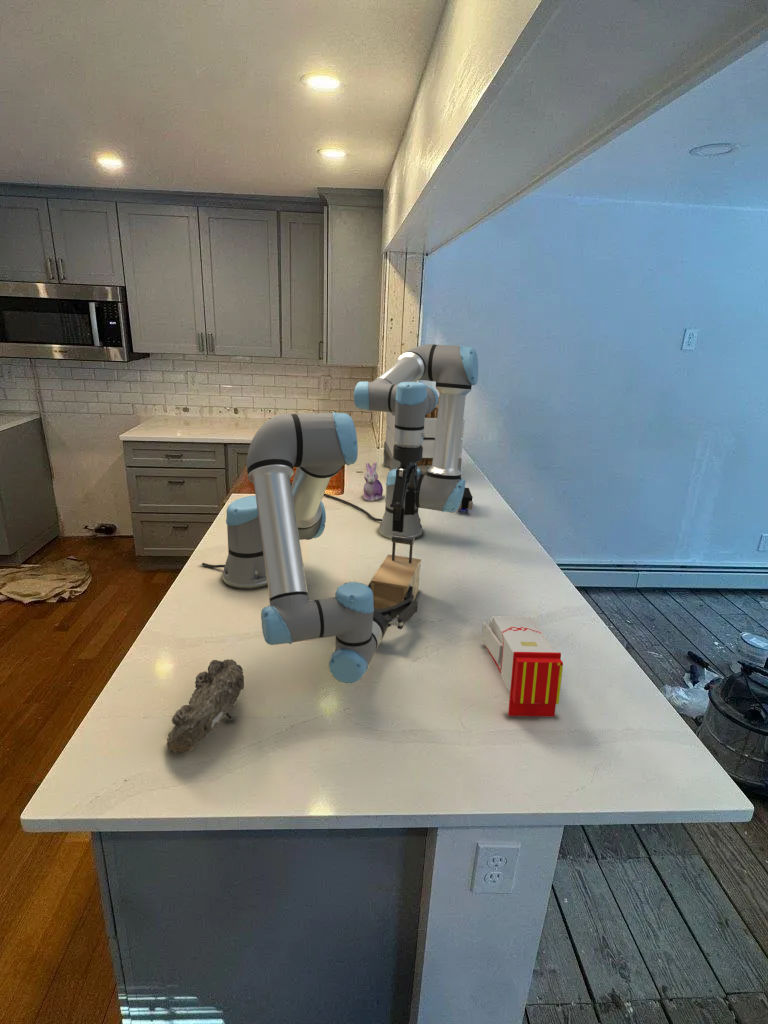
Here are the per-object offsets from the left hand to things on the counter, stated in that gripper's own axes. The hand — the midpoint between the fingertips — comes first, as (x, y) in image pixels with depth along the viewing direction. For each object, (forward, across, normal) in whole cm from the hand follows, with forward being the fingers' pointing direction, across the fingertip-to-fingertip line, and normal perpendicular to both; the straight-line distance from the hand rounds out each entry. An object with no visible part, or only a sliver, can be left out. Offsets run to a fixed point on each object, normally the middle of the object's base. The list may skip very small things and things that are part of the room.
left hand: (391, 587), depth 147 cm
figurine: (+87, -30, -6) cm, 93 cm away
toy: (-19, +33, -6) cm, 38 cm away
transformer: (+133, -20, -6) cm, 134 cm away
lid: (+5, 0, +2) cm, 6 cm away
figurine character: (+87, +7, -6) cm, 88 cm away
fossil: (-51, -22, -6) cm, 56 cm away
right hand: (+10, 0, +14) cm, 18 cm away
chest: (+5, 0, -6) cm, 8 cm away
